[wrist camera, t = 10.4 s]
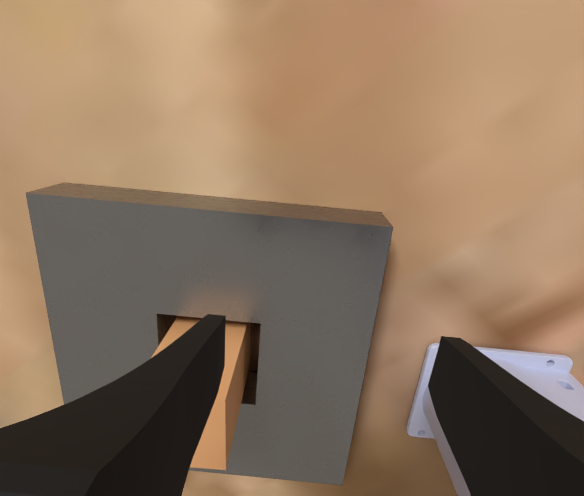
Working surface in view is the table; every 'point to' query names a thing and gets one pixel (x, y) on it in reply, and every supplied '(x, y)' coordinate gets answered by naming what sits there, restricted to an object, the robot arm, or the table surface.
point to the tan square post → (220, 391)
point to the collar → (220, 305)
